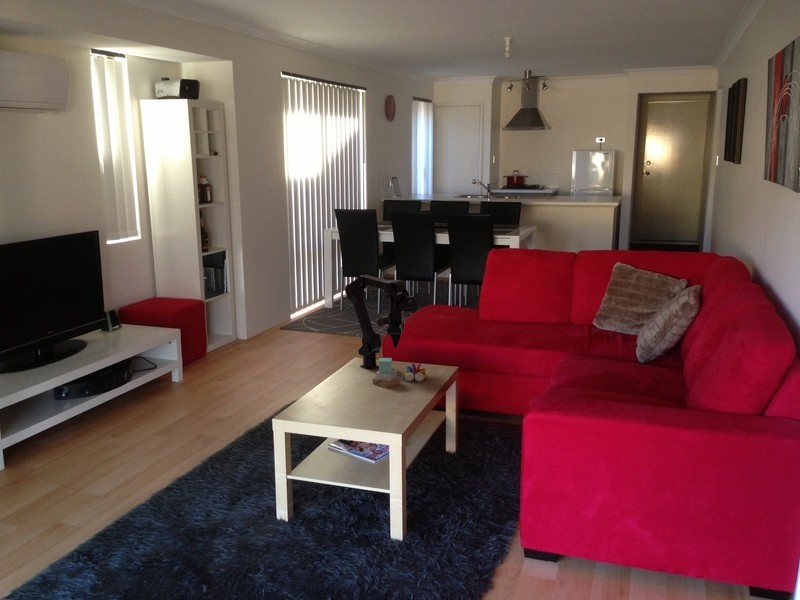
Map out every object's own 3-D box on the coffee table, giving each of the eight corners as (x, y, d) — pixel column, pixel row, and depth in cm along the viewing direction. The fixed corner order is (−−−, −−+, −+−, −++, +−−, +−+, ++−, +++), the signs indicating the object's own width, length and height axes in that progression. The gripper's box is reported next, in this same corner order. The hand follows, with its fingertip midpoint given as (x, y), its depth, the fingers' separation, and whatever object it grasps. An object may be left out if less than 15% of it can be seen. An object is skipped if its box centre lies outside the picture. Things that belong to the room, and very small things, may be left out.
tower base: (372, 385, 294) (372, 378, 294) (386, 381, 300) (386, 374, 299) (386, 389, 289) (385, 382, 288) (399, 385, 294) (399, 378, 294)
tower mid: (376, 379, 292) (375, 372, 292) (383, 375, 298) (382, 368, 297) (390, 381, 289) (389, 374, 289) (396, 377, 295) (396, 370, 295)
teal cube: (379, 373, 291) (379, 361, 290) (379, 369, 296) (379, 358, 295) (391, 373, 291) (391, 361, 290) (391, 369, 296) (391, 358, 295)
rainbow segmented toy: (425, 383, 295) (425, 366, 294) (402, 382, 297) (402, 365, 295) (427, 377, 303) (427, 360, 302) (405, 376, 305) (405, 360, 303)
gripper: (379, 305, 313) (380, 339, 316) (374, 314, 295) (375, 350, 298) (404, 305, 312) (405, 339, 315) (401, 314, 294) (401, 350, 297)
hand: (396, 344), depth 306 cm, fingers open, 9 cm apart
